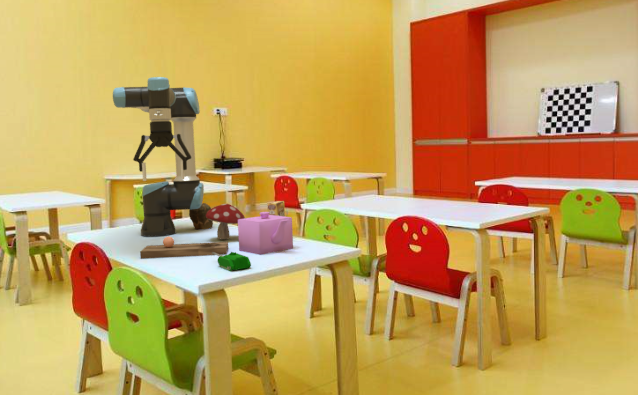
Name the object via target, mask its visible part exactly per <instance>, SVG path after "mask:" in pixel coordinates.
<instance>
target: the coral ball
mask: <svg viewBox="0 0 638 395" xmlns="http://www.w3.org/2000/svg"><path fill="white" fill-rule="evenodd" d="M174 244H175V240H174V238H173V237H172V236H170V235H167V236H165V237H164V238H163V240H162V245H164V246H165V247H172V246H173V245H174Z"/></svg>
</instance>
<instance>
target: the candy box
mask: <svg viewBox="0 0 638 395" xmlns="http://www.w3.org/2000/svg"><path fill="white" fill-rule="evenodd" d="M285 209H286V208H285V201H284V200H275V201H272V202H268V203H267V212H270V213H269V215H275V216H284V217H286V211H285Z"/></svg>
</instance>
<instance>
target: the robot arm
mask: <svg viewBox="0 0 638 395" xmlns="http://www.w3.org/2000/svg"><path fill="white" fill-rule="evenodd" d="M112 101H113V105H114V106H115V107H116V108H120V109H121V108H122V109H126V108H127V109H128V108H131V109H139V110H141V111H143V112H144V113H148V114H149V121H150V122H149V130H150V131H149V135H145V134H142V135H141V137H140V143H139V145H138V148H137V150H136V152H135V154H134V156H133V159H132V160H133V161H134V162H137V163H138V166H139V167H138V168H139V169H138V171H139V172H142V182H146V181H148V179H147V168H146V167H147V166H146V164H147V163H146V162H144V161H145V160H146V159H147V157H149V155H150V154H151V152H152V151H153V150H154V149H155V147H157V148H167V147H169V148H170V149H171V150H172V151H173V152H174V154H175V173H176V174H175V178H174V179H173V180H172V182H173V183H172V184H171V183H170V182H169V181H168V180H166V181H159V182H154V183H149V184H146V185H143V187H142V194H141V196H142V207H143V208H142V209H143V221H142V224H141V229H140V235H141V236H142V237H161V236H163V237H164V236H170V235H174V234H176V231H177V229H176V226H175V223H174V221H173V219H172V218H173V217H172V216H171V214H172V213H171V211H179V210H181V211H183V210H189V209H190V210H191V209H198V208H200V207H201V205H202V203H203V200H204V192H205V189H204V187H205V186H204V183H202V182H200V181H201V180H200V178H199V176H197V171H196V170H197V169H196V167H197V166H196V153H195V136H194V135H195V134H194V133H195V132H194V121H195V120H197V115H199V114H200V111H201V110H200V105H199V104H200V103H199V102H200V101H199V98H198V95H197V91H196V90H195V89H194V88H193V87H185V86H183V87H170V80H169V78H168V77H163V76H155V77H154V76H153V77H148V79H147V86H128V87H127V86H126V87H125V86H121V87H119V86H118V87H115V88H114V89H113V91H112ZM172 123H173V128H172ZM149 140H150V141H151V144H150V145H149V146H148V147H147V148H146V150H145V151H144V153H143V154H142V152H143V150H144V148H145V146H146V143H147V142H148V141H149ZM173 141H174V143H172V142H173ZM141 154H142V155H141Z"/></svg>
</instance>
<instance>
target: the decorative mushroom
mask: <svg viewBox="0 0 638 395" xmlns="http://www.w3.org/2000/svg"><path fill="white" fill-rule="evenodd" d="M206 217H207V218H208V219H209V220H212V221H213V222H216V223H219V225H218V227H217V232H216V235H217V237H216V238H217V239H218V240H223V241H224V240H228V239H230V237H231V235H230V229H229V225H230V224H231V225H236V224H237V225H238V219H245V215H244V214H243V213H242V211H241V210H239V209H238V208H237V207H235V206H234V205H232V204H229V203H222V204H219V205H216V206H214V207H211V209H210V210H209V211H208V212H207V214H206Z"/></svg>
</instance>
